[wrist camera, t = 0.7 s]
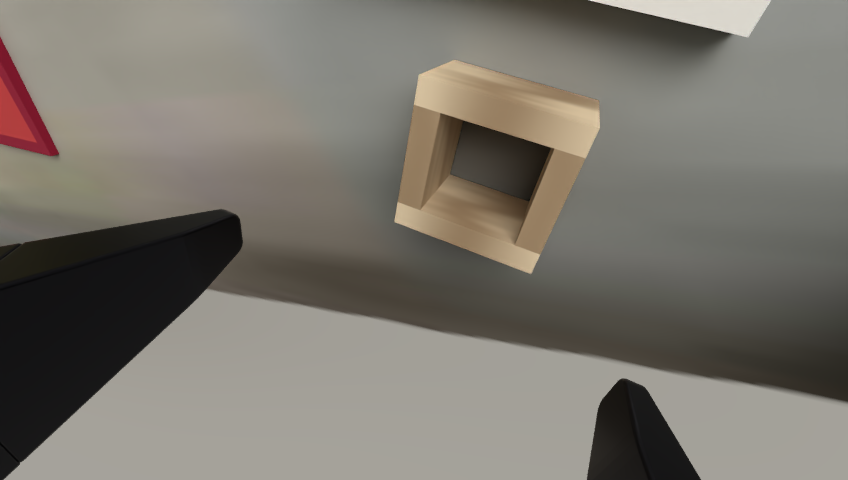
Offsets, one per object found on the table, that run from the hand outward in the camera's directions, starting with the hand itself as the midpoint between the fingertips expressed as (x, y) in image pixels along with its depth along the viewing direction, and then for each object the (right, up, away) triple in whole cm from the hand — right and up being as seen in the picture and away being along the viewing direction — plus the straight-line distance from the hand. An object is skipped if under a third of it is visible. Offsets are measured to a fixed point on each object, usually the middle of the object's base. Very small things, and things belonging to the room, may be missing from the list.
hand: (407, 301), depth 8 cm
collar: (+4, +5, +9) cm, 11 cm away
